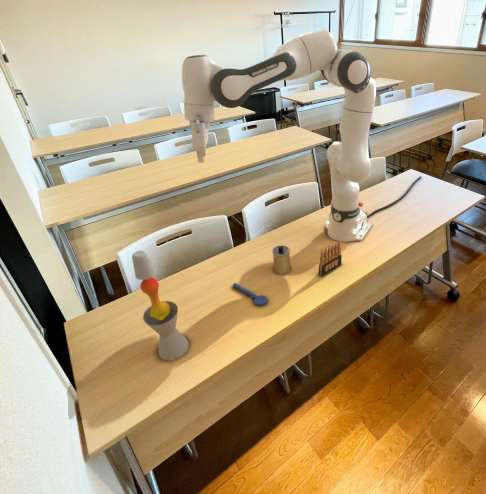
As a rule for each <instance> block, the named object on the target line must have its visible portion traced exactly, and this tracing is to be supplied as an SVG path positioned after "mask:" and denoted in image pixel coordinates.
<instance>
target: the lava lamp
mask: <svg viewBox="0 0 486 494" xmlns="http://www.w3.org/2000/svg"><path fill="white" fill-rule="evenodd" d="M131 259H132V264H133V270H134V277H135V278H136V280H139V281H141V282H140V284H139V285H140V290H141V292H142V293H143V294H145V295H147V296H148V297H149V299H150V302H151V305H150V306H149V307H148V308H147V309H146V310H145V311H144V313H143V314H142V319H143V321H144V323H145V324H146V325H147V326H148V327H149V328H151V329H152V330H153V331H154V332H156V333H157V334H158V335H159V338H158V356H159V358H161V359H162V360H165V361H174V360H177V359H179V358H181V357H182V356H184V354H186V353H187V352H188V349H189V346H190V344H189V343H190V342H189V340H188V339H187V338H186V336H184V335H183V334H182V333H181V332H180V331H179V329H177V328H176V327H177V320H178V313H179V309H178V305H177V304H176V303H175V302H173V301H170V300H164V301H163V300H162V301H161V300H160V297H159V288H160V287H159V286H160V283H159V281H158V280H157V278H155V277H154V276H156V274H157V269H156V268H155V266H154V263H153V262H152V260H151V259H150V257H149V256H148V253H147V252H146V251H145V250H136V251H135V252H133V253H132V256H131Z"/></svg>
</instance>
